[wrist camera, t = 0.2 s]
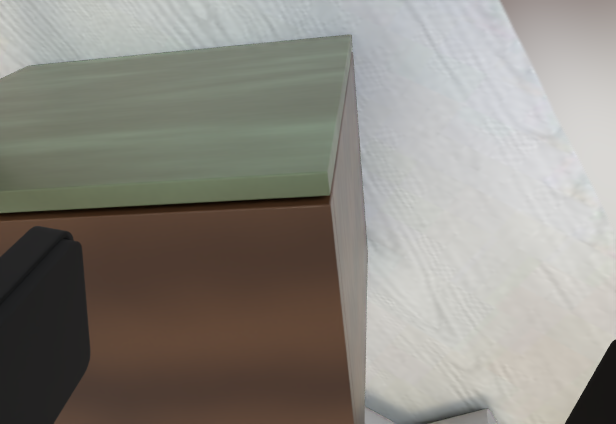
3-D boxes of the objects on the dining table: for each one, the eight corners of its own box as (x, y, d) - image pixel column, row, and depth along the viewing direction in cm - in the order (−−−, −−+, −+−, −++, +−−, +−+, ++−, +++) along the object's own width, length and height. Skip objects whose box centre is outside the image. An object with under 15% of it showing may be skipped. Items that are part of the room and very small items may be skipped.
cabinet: (34, 80, 44) (-265, 234, 24) (352, 51, 40) (330, 204, 20) (100, 262, 53) (-77, 492, 32) (367, 252, 49) (363, 506, 28)
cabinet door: (-5, -26, 40) (-400, 45, 20) (343, -70, 37) (304, -38, 16) (32, 77, 44) (-267, 228, 24) (352, 48, 40) (330, 197, 20)
